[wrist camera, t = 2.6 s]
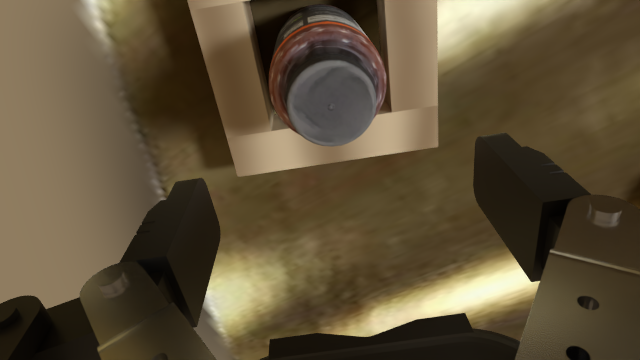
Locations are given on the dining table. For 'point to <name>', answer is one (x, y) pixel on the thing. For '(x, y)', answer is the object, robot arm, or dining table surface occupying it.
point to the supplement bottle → (326, 76)
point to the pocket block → (268, 129)
